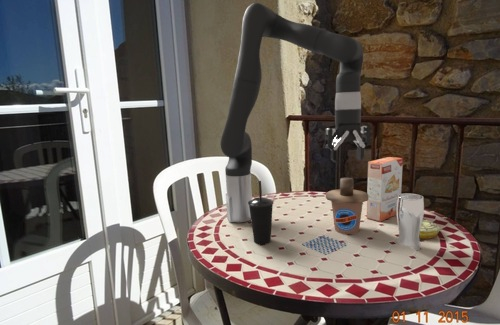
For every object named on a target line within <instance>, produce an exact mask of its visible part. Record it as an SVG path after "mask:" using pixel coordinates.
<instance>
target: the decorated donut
mask: <svg viewBox="0 0 500 325" xmlns="http://www.w3.org/2000/svg"><path fill="white" fill-rule="evenodd" d="M440 231H441V228H440V227H439V225H438V224H436V223H435V222H433V221H430V220H429V219H428V220H427V219H423V222H422V226H421V230H420V235H419V240H429V239H434V238H435V237H437V236H438V235H439V232H440Z"/></svg>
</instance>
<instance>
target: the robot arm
mask: <svg viewBox="0 0 500 325" xmlns="http://www.w3.org/2000/svg"><path fill="white" fill-rule="evenodd" d="M263 37H264V38H271V39H277V40H282V41H285V42H288V43H291V44H293V45H295V46H297V47H299V48H302V49H304V50H307V51H309V52H312V53H315V54H318V55H322V56H323V55H324V56H325V57H328V58H330V59H333V60H335V61H337V62H339V73H338V74H337V75H336V79H335V98H334V124H335V125H334V126H335V127H334V128H330V127H327V128H325V131H324V144H323V147H325V149H329V150H330V160H331V161H332V162H333V163H338V161H339V159H338V158H339V156H338V152H339V151H338V148H339V146H340V145H342V143H347V142H353V143H355V145H356V146H357V147H356V160H358V161H362V160H363V159H364V158H365V148H366V147H367V146H370V145H371V131H370V130H371V129H370V126H367V125H362V126H361V122H362V120H361V119H362V97H361V85H362V84H361V74H362V69H363V61H364V48H363V44H362V43H361V42H360V41H359V40H356V39H355V38H352V37H351V36H348V35H343V34H338V33H334V32H331V31H330V30H327V29H324V28H321V27H318V26H314V25H311V24H308V23H307V24H306V23H300V22H296V21H292V20H289V19H287V18H284V17H283V16H281V15H280V14H278V13H277V12H275V11H274V10H272V9H271V8H270V7H267V6H265V5H264V4H262V3H259V2H254V3H251V4H250V5H248V7H247V8H246V9H245V12H244V14H243V17H242V25H241V35H240V47H239V53H238V58H237V62H236V63H237V65H236V69H235V74H234V78H233V84H232V90H231V96H230V102H229V108H228V112H227V117H226V121H225V123H224V124H225V125H224V128H223V131H222V135H221V139H220V149H221V151H222V153H223V155H224V156H226V157H227V158H228V162H227V165H226V166H225V184H226V185H225V186H226V187H225V188H226V189H225V190H226V193H225V204H226V218H227V219H228V221H229V223H245V222H248V221H251V216H250V209H249V205H248V202H249V201H250V200H252V199H253V198H252V196H253V194H252V183H251V182H252V178H251V175H252V174H251V168H252V164H253V151H252V150H253V148H252V146H253V144H252V138H251V136H250V134H249V133H248V132H247V131H246V127H247V123H248V119H249V117H250V114H251V112H252V111H253V109H254V107H255V104H256V103H257V100H258V98H259V97H258V96H259V93H260V90H261V83H262V79H263V78H262V76H263V74H262V64H261V55H260V52H261V51H260V50H261V44H262V40H263ZM360 133H361V136H360ZM334 134H335V135H336V136H335V137H334V138H333V136H334Z"/></svg>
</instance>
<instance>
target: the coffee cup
mask: <svg viewBox="0 0 500 325" xmlns="http://www.w3.org/2000/svg"><path fill="white" fill-rule="evenodd" d="M330 203H331V208H332V217H333V218H332V219H333V225H334V230H335V232H337V233H338V234H343V235H354V234H358V232H360V228H361V227H360V225H361V219H362V212H363V204H364V202H361V203H353V204H346V203H337V202H332V201H330Z"/></svg>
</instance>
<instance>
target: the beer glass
mask: <svg viewBox="0 0 500 325" xmlns="http://www.w3.org/2000/svg"><path fill="white" fill-rule="evenodd" d="M424 210H425V203H424V196H423V195H420V194H416V193H407V192H405V193H401V194H399V195H398V199H397V209H396V222H397V227H398V239H397V243H398V244H399V245H400V246H403V247H408V248H411V249H413V250H415V251H420V250H421V240H420V239H419V235H420V230H421V226H422V222H423V220H424V215H425V214H424V213H425V211H424Z"/></svg>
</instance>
